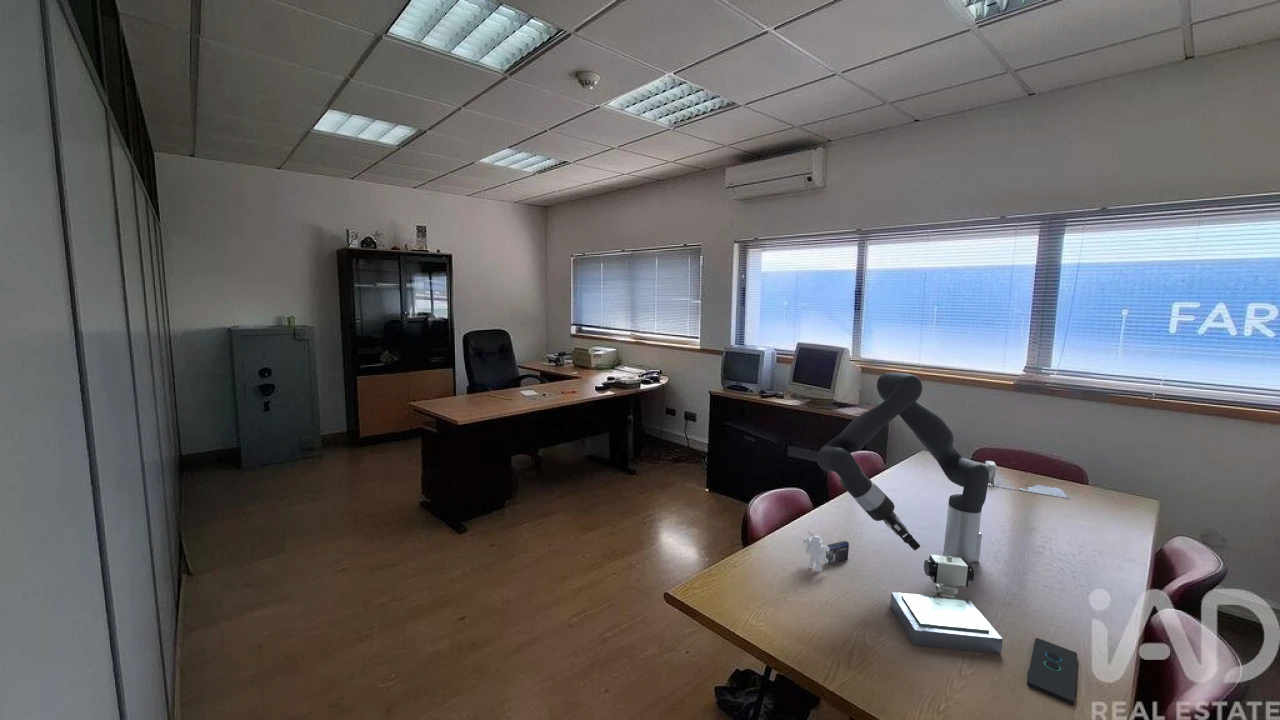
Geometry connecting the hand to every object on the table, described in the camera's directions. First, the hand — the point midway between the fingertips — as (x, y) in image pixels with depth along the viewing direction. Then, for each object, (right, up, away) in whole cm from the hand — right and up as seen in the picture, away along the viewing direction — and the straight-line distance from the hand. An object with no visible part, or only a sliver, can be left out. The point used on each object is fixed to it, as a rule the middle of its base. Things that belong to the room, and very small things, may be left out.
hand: (911, 540), depth 143 cm
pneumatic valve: (+10, -16, +1) cm, 19 cm away
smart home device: (+17, -21, -28) cm, 39 cm away
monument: (+97, -7, +85) cm, 129 cm away
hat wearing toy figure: (-23, -14, +13) cm, 30 cm away
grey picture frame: (0, -18, -14) cm, 23 cm away
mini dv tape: (-15, -14, +18) cm, 27 cm away
